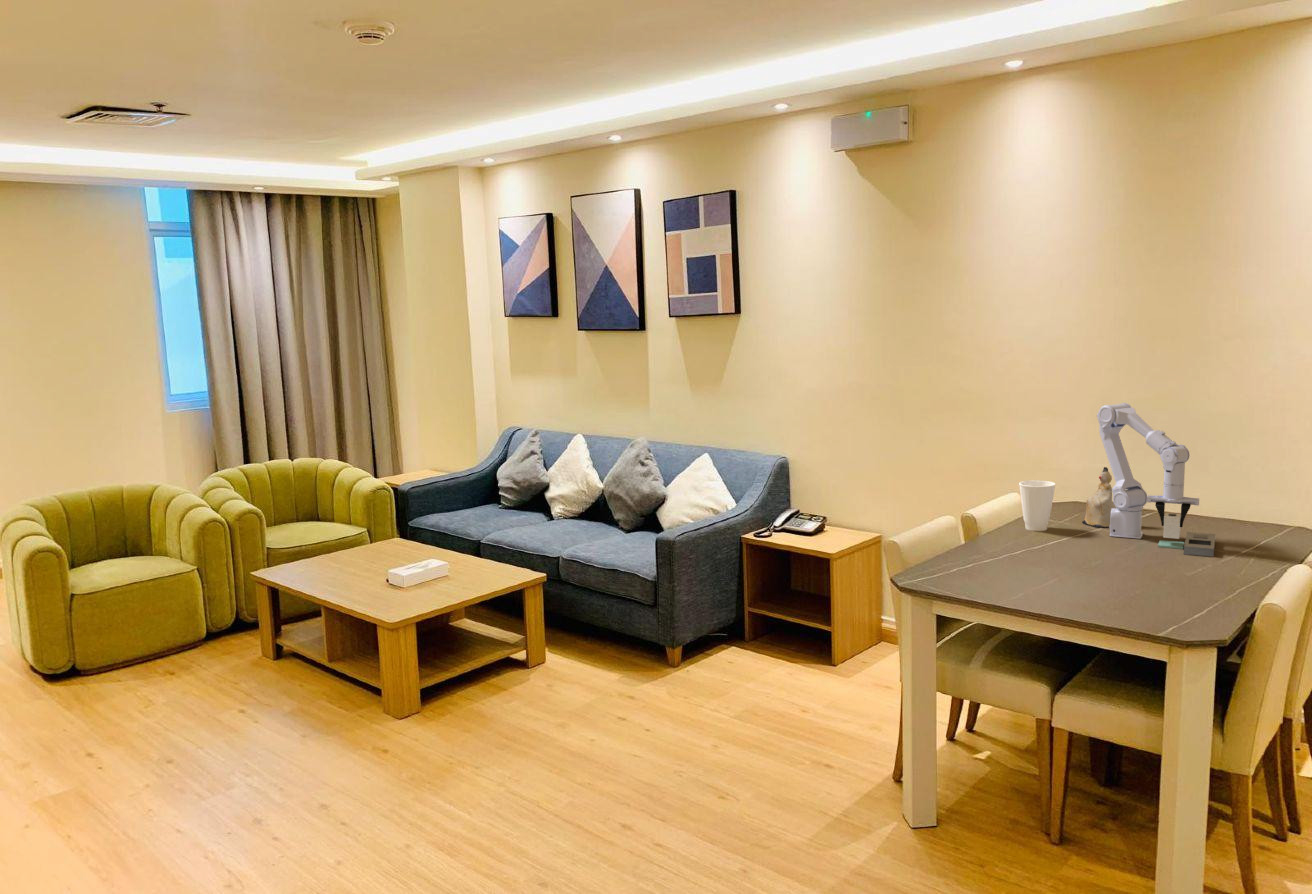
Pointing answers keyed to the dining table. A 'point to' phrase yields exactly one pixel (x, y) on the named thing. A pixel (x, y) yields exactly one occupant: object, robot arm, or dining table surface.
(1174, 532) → the cube with screw head
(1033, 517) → the cup
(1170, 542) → the mat
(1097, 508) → the figurine
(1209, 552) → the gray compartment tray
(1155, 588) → the dining table surface
